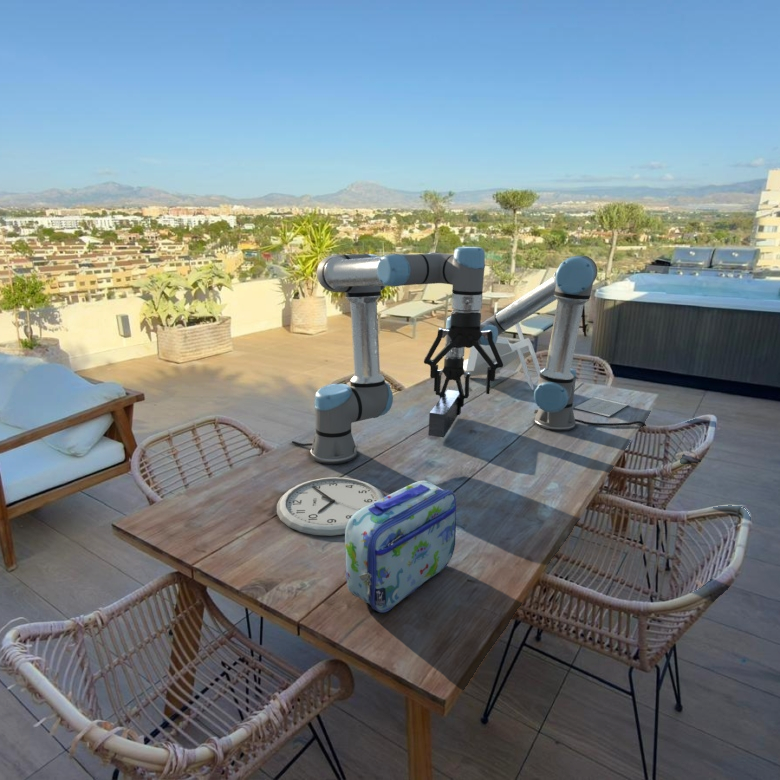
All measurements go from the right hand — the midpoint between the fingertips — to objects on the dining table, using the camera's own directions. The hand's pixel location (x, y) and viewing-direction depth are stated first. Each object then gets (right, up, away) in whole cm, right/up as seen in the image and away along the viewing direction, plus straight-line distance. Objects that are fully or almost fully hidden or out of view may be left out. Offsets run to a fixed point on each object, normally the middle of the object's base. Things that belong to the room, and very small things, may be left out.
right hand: (451, 412), depth 209 cm
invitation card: (+67, +2, +17) cm, 69 cm away
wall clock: (-40, -22, -66) cm, 80 cm away
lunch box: (-22, -32, -97) cm, 105 cm away
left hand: (-6, +9, -71) cm, 72 cm away
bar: (-3, -3, -9) cm, 11 cm away
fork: (+2, +6, +28) cm, 29 cm away
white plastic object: (+29, +12, +49) cm, 58 cm away
